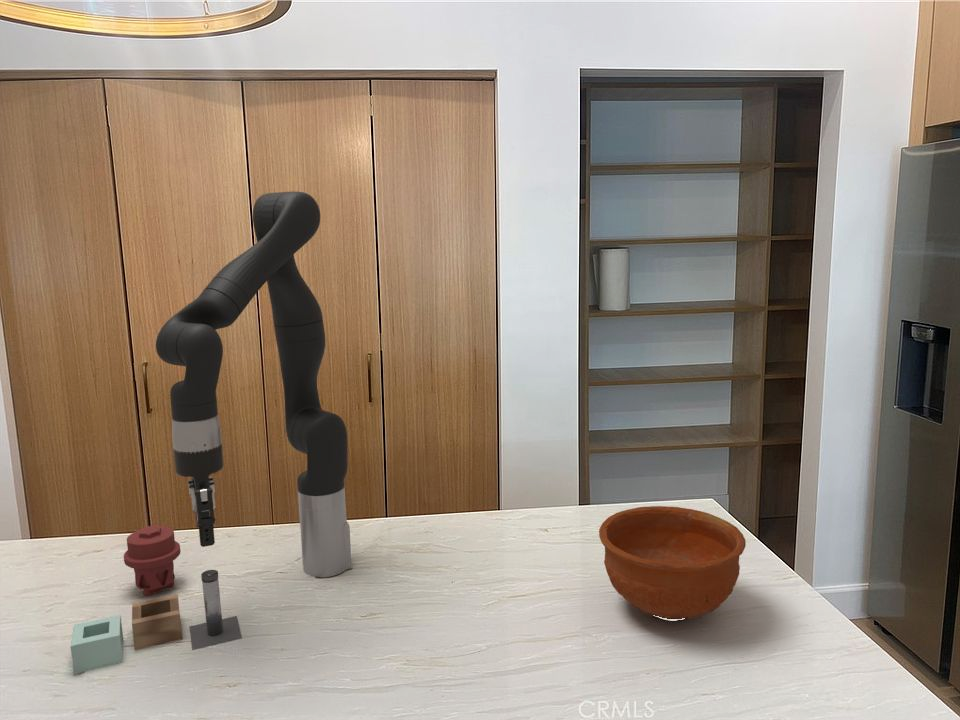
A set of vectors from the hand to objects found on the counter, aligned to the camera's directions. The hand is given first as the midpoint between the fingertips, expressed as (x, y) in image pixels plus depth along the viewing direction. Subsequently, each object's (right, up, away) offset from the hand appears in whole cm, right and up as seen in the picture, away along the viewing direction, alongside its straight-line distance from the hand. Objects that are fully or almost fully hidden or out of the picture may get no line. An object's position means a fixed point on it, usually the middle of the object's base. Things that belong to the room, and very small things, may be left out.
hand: (205, 535), depth 125 cm
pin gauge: (0, -18, +3) cm, 18 cm away
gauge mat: (0, -18, +4) cm, 18 cm away
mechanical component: (-17, -15, +20) cm, 30 cm away
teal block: (-16, -19, -3) cm, 26 cm away
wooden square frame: (-9, -18, +3) cm, 21 cm away
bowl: (+80, -16, +9) cm, 82 cm away
